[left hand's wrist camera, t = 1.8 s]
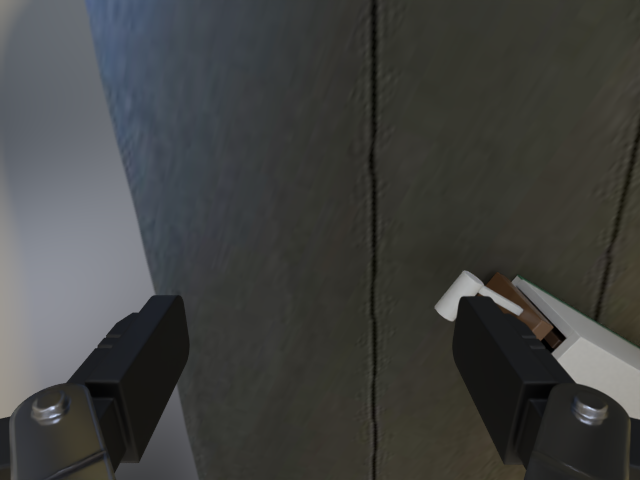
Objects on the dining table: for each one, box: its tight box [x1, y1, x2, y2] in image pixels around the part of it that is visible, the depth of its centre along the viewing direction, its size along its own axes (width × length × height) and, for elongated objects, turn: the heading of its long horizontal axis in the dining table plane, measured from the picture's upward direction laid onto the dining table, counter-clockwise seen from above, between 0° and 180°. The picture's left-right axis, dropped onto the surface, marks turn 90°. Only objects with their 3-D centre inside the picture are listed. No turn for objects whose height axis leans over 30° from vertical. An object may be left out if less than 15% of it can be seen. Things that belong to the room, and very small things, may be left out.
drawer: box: [435, 270, 567, 354], centre depth 34 cm, size 22×4×8 cm, turn 59°
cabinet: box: [512, 275, 640, 419], centre depth 35 cm, size 17×6×10 cm, turn 59°
